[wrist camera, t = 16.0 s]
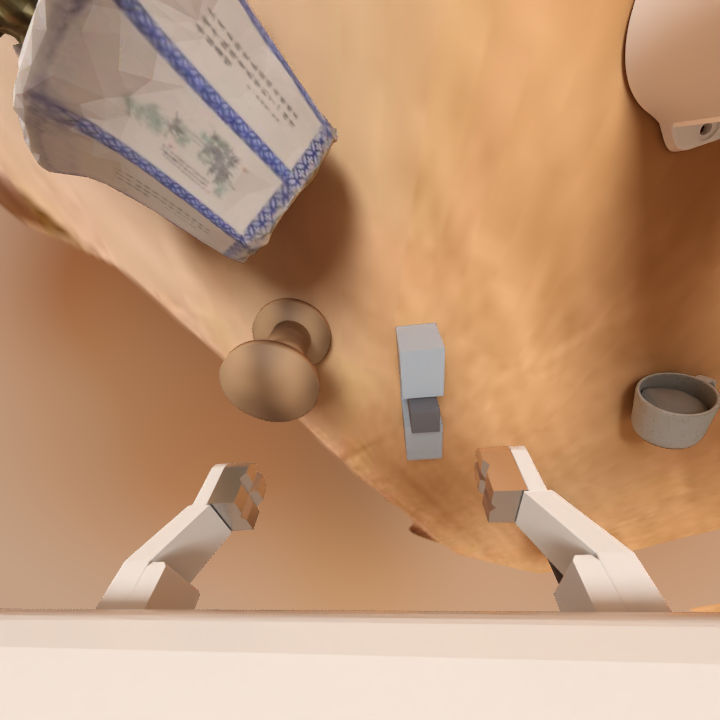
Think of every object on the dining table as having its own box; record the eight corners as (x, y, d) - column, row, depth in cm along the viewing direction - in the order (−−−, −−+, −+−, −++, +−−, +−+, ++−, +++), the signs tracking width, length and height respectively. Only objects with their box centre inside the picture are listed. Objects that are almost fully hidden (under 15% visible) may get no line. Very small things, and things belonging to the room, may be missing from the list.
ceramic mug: (617, 420, 46) (658, 461, 40) (621, 380, 42) (666, 420, 36) (698, 401, 44) (755, 442, 38) (711, 357, 40) (776, 396, 33)
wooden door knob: (322, 293, 36) (305, 339, 27) (336, 361, 42) (327, 418, 33) (243, 303, 37) (202, 350, 28) (268, 367, 43) (240, 424, 34)
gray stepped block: (435, 322, 38) (444, 347, 33) (434, 427, 49) (441, 458, 44) (395, 326, 39) (399, 352, 34) (403, 429, 49) (407, 460, 44)
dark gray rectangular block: (430, 376, 42) (440, 411, 36) (430, 395, 44) (439, 431, 38) (405, 378, 42) (410, 413, 36) (406, 397, 44) (411, 433, 38)
